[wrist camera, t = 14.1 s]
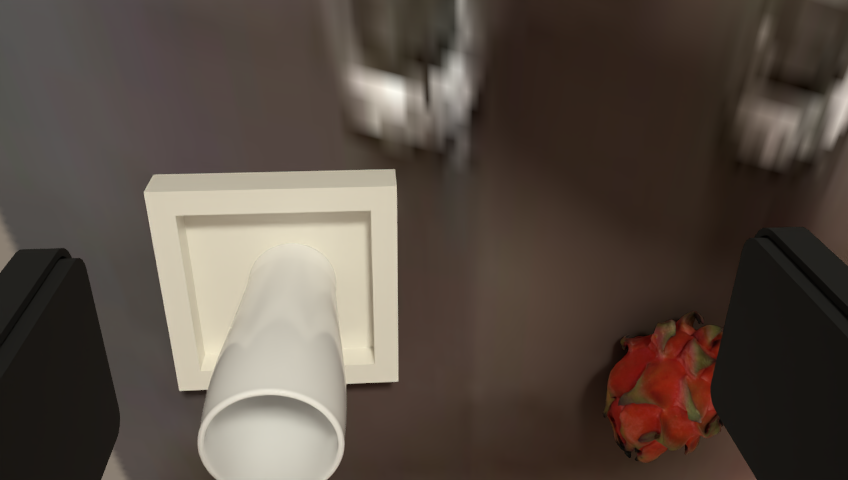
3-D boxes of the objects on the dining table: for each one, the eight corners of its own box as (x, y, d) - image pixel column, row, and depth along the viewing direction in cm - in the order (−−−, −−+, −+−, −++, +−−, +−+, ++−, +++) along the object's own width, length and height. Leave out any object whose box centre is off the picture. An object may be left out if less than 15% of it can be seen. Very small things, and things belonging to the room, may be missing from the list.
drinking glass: (369, 262, 48) (375, 428, 35) (312, 337, 51) (297, 520, 38) (273, 208, 46) (241, 365, 33) (218, 290, 48) (167, 467, 35)
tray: (395, 169, 46) (396, 186, 44) (396, 359, 53) (398, 381, 51) (153, 174, 45) (143, 192, 43) (186, 367, 52) (179, 390, 50)
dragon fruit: (704, 272, 53) (611, 384, 60) (637, 290, 48) (542, 411, 54) (803, 365, 49) (691, 475, 56) (743, 396, 43) (626, 515, 50)
